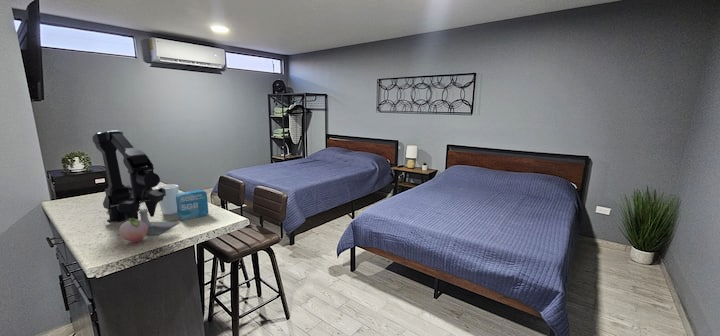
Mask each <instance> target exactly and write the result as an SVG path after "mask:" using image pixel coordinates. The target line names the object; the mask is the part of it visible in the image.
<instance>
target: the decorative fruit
mask: <svg viewBox="0 0 720 336" xmlns="http://www.w3.org/2000/svg"><path fill="white" fill-rule="evenodd" d="M147 232H148V226H147V224H146V223H145V222H143V221H141V219H138V220H137V219H135V218H133V217H132V218H127V220H126V221H124V222H122V224H121V225H120V226H119V229H118V234H119V235H118V236H120V238H121V239H122V240H124V241H126V242H131V243H138V242H140V241H142V240H143V239H144V238H145V237H146V236H147V235H146V234H147Z"/></svg>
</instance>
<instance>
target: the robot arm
mask: <svg viewBox="0 0 720 336" xmlns="http://www.w3.org/2000/svg"><path fill="white" fill-rule="evenodd" d="M92 142H93V143H94V145H95V148H96V149H97V150H98V151H99V152H100V153H101V155H102V160H103V165H104V169H105V174H106V178H107V183H108V186H107V188H106V189H107V190H106V192H104V193H105V196H104V199H103V201H102V206H103V209H106V210H107V211H108V215H109V216H108V217H109V219H107V220H106V222H123V221H125V220H128V219H130V218H132V217H133V218H135V219H137V220H139V211H140V210H141V208H140V206H141V204H143V203H144V204H145V207H146V209H147V210H148V212H147V213H148V215H149V216H150V218H152V217H154V216H155V212H156V209H157V205H158V204H159V202H160V201H162V200H163V198H164V196H166V194H165V193H166V192H165V189H164V188H160V189H158V190H157V189H153V188H154V187H155V188H156V187H158V186H159V184H160V181H161V178H160V176H159V174H157V173H155V172H154V170H155V167H154V164H153V163H152V161H151V159H150V158H149V156H148V155H147V154H146V153H145V152H144V151H142V150H140V149H136V148H135V147H134V146H133V144H132V143H131V142H130V141H129V140H128V139H127V138H126V136H125V135H124V133H123V131H122V130H117V129H116V130H108V131H105V132H95V134H94V135H93V136H92ZM117 151H118V152H119V153H120V154H121V155H122V156H123V159H122V162H123V165H124V166H125V168H126V169H127V173H128V174H129V179H130V186H131V188H129V189H128V187H125V186H126V185H125V184H123V180H122V176H121V171H120V166H119V162H118V156H117ZM129 190H132V195H133V197H131V194H130V193H129ZM131 200H134V201H131Z"/></svg>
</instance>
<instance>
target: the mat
mask: <svg viewBox="0 0 720 336" xmlns="http://www.w3.org/2000/svg"><path fill="white" fill-rule="evenodd" d="M150 222H151V225H152V226H151V228H148V232H147V234H146V236H160V235H161V234H163V233H165V232H166V231H168V230H169V229H172V228H173V227H175V226H176V225H178V224H180V221H150ZM117 236H120V235H119V233H118V234H117Z"/></svg>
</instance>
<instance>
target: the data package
mask: <svg viewBox="0 0 720 336" xmlns="http://www.w3.org/2000/svg"><path fill="white" fill-rule="evenodd" d="M176 204H177V212H176V214H177V217H178V218H179V219H180V220H182V221H186V220H191V219H196V218H200V217H206V216H207V215H208V214H209V205H208V204H209V201H208V193H207V192H206V191H205V190H203V189H195V190H189V191H184V192H183V191H182V192H178V194H177V195H176Z"/></svg>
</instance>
